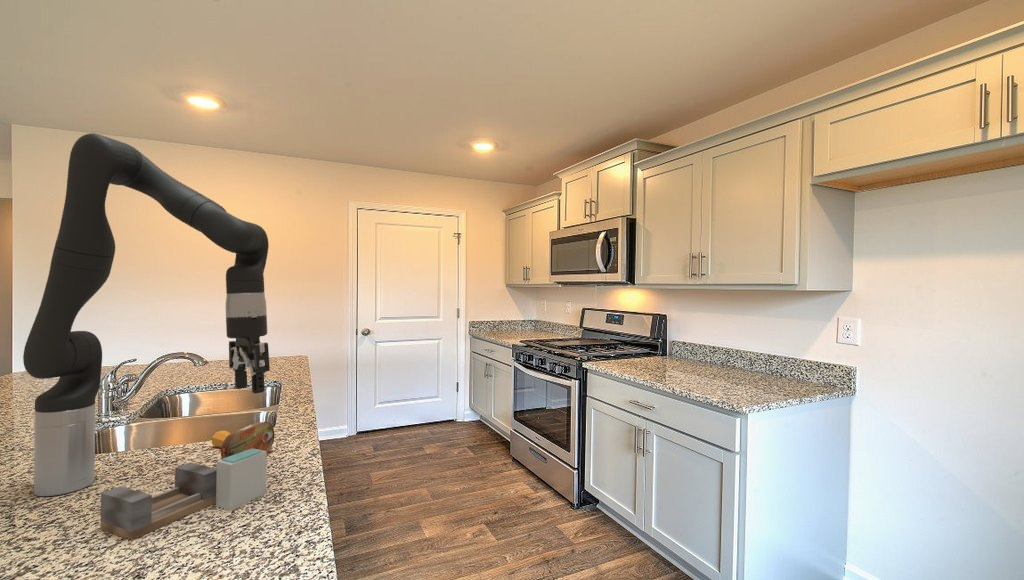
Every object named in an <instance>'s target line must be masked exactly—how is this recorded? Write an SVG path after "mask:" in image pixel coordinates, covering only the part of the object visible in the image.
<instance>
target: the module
mask: <svg viewBox="0 0 1024 580" xmlns="http://www.w3.org/2000/svg"><path fill="white" fill-rule="evenodd" d="M267 454H268V452H267V451H263V450H258V449H249V450H246V451H243V452H240V453H237V454H235V455H232V456H229V457H226V458H224V459H222V458H221V459H220V460H218V461H216V469H217V480H216V503H215V507H216V506H217V507H216V508H219V507H221V508H220V509H222V508H224V509H223V510H226V509H227V510H226V511H229V510H231V511H232V509H233V510H234V508H235V509H237V508H239V507H241V506H243V505H245V504H247V503H249V502H251V500H252V501H253V499H254V500H256V499H258V498H260V497H262V496H264V495H266V494H267V457H268V455H267ZM265 493H266V494H265ZM263 494H264V495H263ZM259 496H260V497H259ZM257 497H258V498H257ZM255 498H256V499H255Z"/></svg>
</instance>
